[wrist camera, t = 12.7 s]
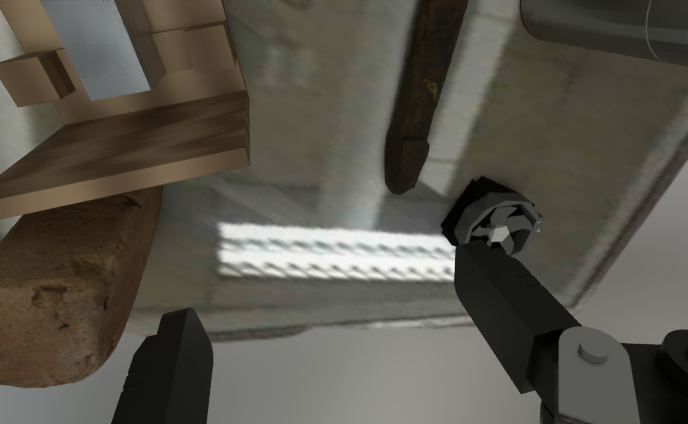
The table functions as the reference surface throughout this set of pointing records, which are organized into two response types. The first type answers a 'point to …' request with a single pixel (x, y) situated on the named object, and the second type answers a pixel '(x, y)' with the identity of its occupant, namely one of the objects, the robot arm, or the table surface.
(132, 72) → the rail
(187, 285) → the table surface
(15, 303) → the brown rounded piece
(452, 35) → the dark brown bar
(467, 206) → the cpu cooler
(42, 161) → the post cradle
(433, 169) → the table surface
